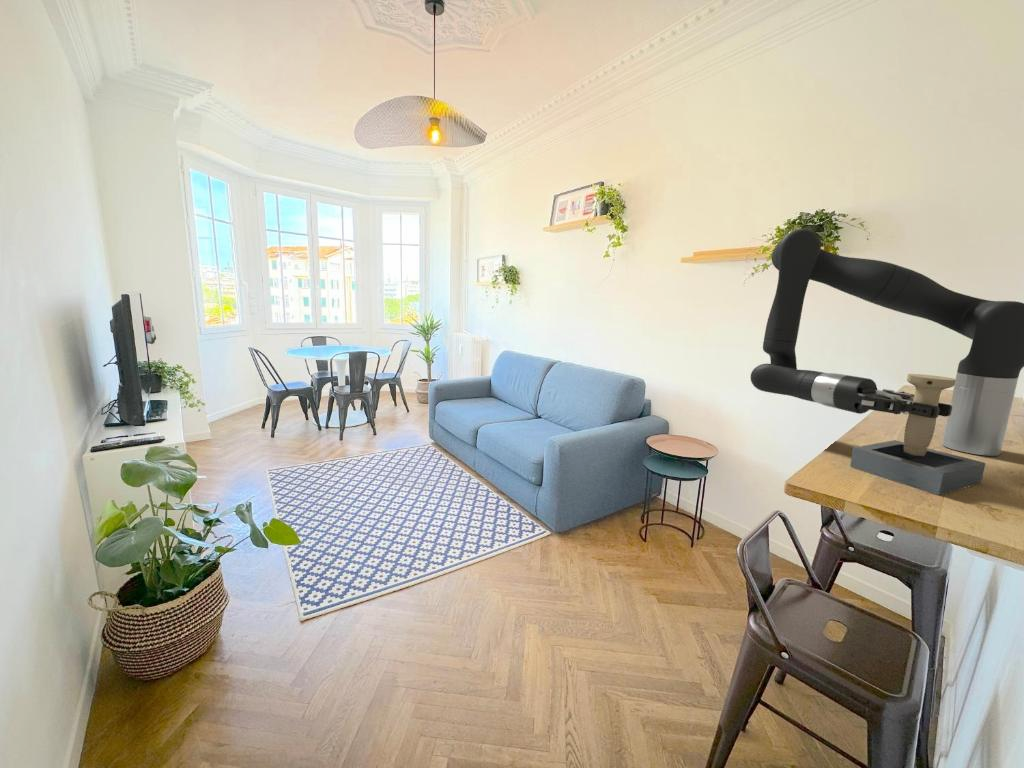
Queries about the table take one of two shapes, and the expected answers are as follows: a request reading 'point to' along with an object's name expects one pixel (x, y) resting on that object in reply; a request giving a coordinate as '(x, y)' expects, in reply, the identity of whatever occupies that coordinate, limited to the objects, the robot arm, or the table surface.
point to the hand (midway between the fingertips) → (943, 411)
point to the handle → (920, 426)
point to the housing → (918, 467)
